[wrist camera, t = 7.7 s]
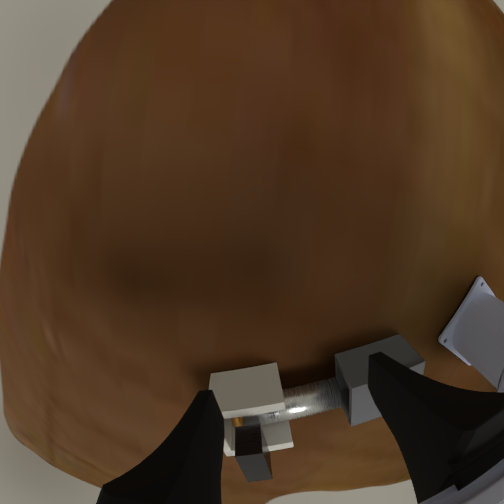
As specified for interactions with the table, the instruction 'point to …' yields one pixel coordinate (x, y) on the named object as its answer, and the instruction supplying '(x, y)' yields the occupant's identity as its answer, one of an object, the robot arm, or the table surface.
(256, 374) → the ceramic socket
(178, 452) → the robot arm
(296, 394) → the silver cylinder with handle
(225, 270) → the table surface
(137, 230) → the table surface
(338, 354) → the charcoal sleeve
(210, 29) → the table surface
